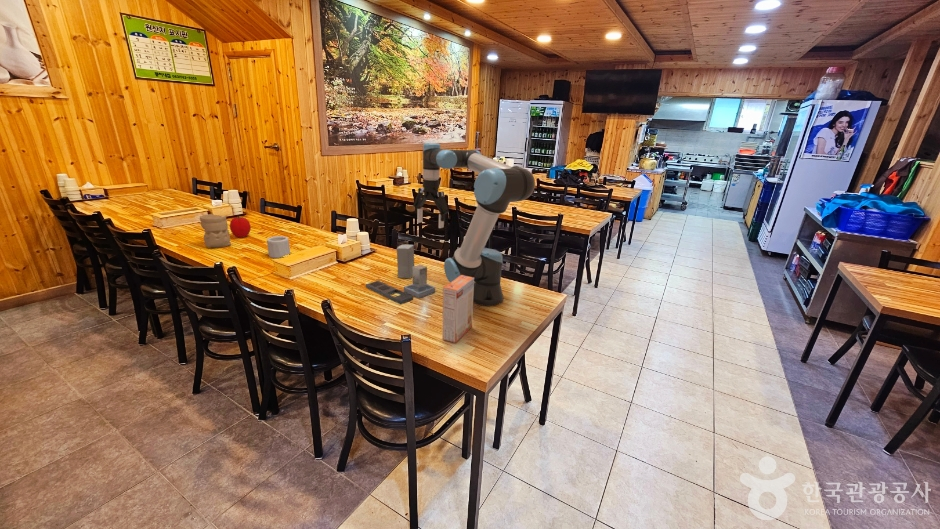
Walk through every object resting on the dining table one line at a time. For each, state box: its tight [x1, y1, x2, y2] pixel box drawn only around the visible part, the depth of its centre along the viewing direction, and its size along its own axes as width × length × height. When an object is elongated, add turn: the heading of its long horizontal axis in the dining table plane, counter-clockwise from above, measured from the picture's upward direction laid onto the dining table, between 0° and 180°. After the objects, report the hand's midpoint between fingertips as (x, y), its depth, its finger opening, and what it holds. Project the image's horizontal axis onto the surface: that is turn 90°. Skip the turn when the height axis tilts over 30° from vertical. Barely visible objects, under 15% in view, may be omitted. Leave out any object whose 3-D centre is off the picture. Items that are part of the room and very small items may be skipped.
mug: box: [266, 235, 291, 259], centre depth 207 cm, size 14×11×10 cm
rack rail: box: [365, 280, 414, 305], centre depth 168 cm, size 25×7×2 cm, turn 50°
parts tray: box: [403, 283, 436, 300], centre depth 171 cm, size 10×10×2 cm
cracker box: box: [442, 275, 475, 344], centre depth 135 cm, size 14×6×21 cm, turn 154°
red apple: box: [229, 216, 251, 238], centre depth 235 cm, size 12×12×13 cm
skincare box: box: [396, 244, 415, 280], centre depth 187 cm, size 8×7×16 cm
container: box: [199, 213, 232, 248], centre depth 215 cm, size 13×13×18 cm
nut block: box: [412, 264, 428, 293], centre depth 169 cm, size 5×5×12 cm
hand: (430, 225), depth 174 cm, fingers open, 13 cm apart
